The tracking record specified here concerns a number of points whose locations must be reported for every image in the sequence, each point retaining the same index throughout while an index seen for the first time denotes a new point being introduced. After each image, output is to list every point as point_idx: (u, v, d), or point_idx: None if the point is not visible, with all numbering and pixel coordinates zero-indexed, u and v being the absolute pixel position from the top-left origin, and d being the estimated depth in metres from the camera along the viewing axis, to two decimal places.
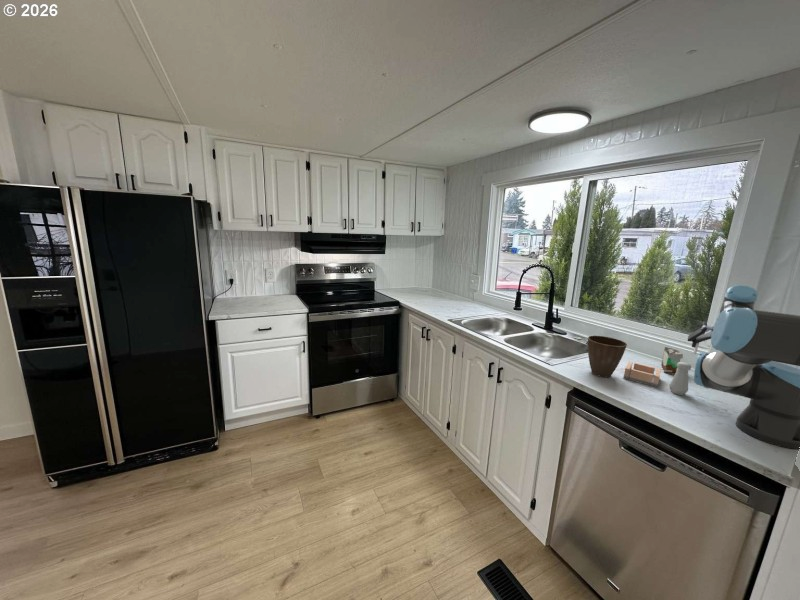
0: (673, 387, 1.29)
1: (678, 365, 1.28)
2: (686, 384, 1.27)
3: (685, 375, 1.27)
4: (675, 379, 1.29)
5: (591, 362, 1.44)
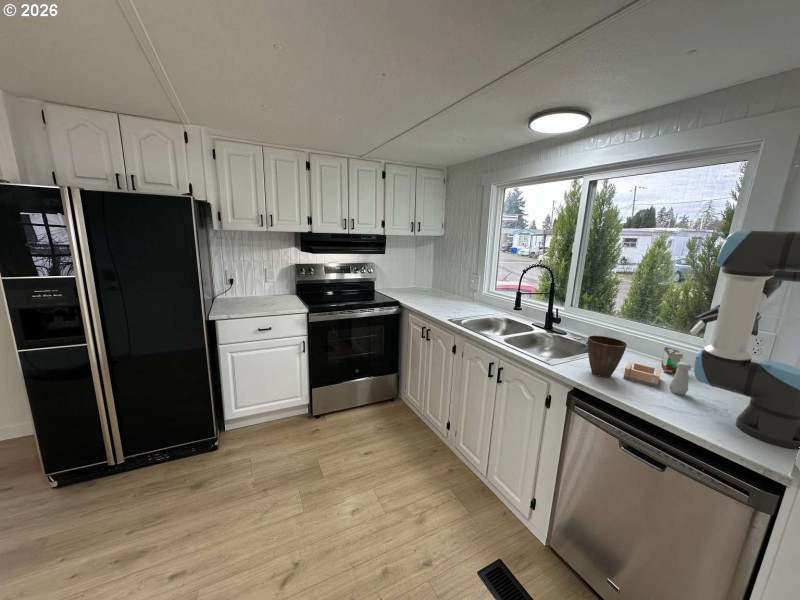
0: (673, 387, 1.29)
1: (678, 365, 1.28)
2: (686, 384, 1.27)
3: (685, 375, 1.27)
4: (675, 379, 1.29)
5: (591, 362, 1.44)
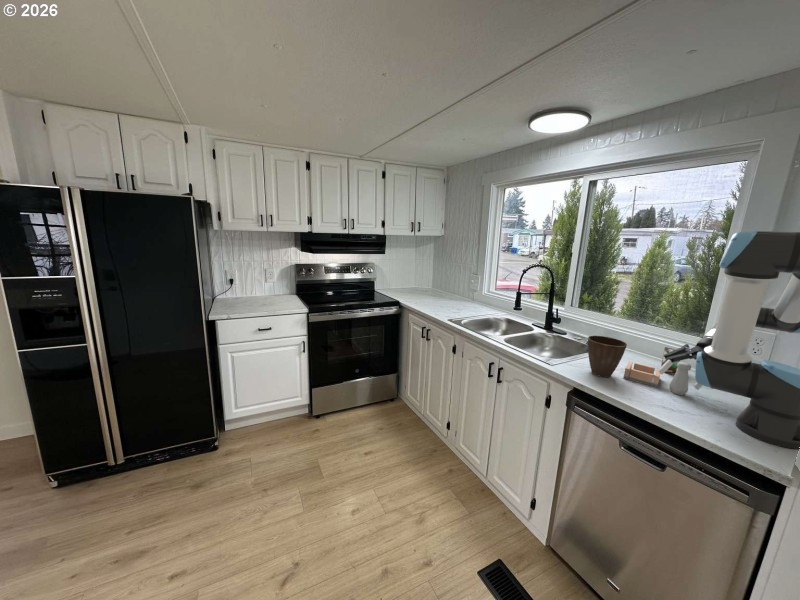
0: (673, 387, 1.29)
1: (678, 365, 1.28)
2: (686, 384, 1.27)
3: (685, 375, 1.27)
4: (675, 379, 1.29)
5: (591, 362, 1.44)
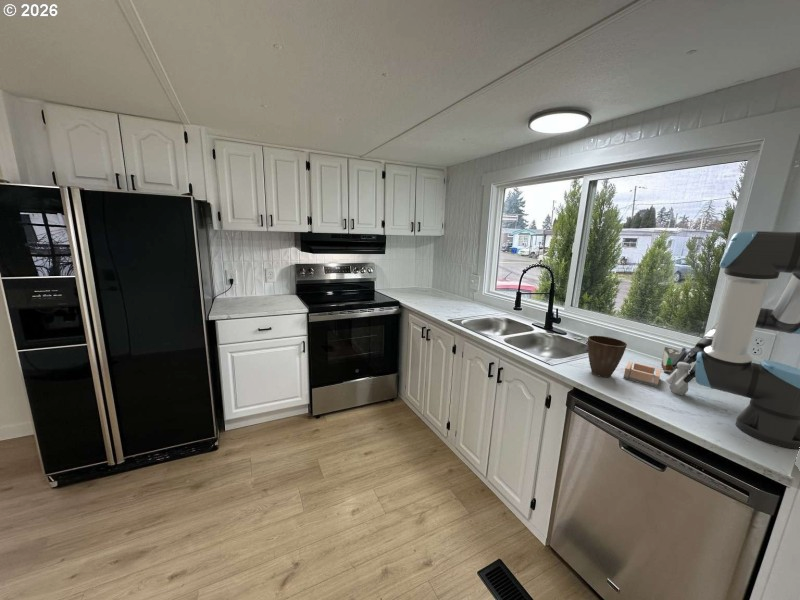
0: (673, 387, 1.29)
1: (678, 365, 1.28)
2: (686, 384, 1.27)
3: None
4: (675, 379, 1.29)
5: (591, 362, 1.44)
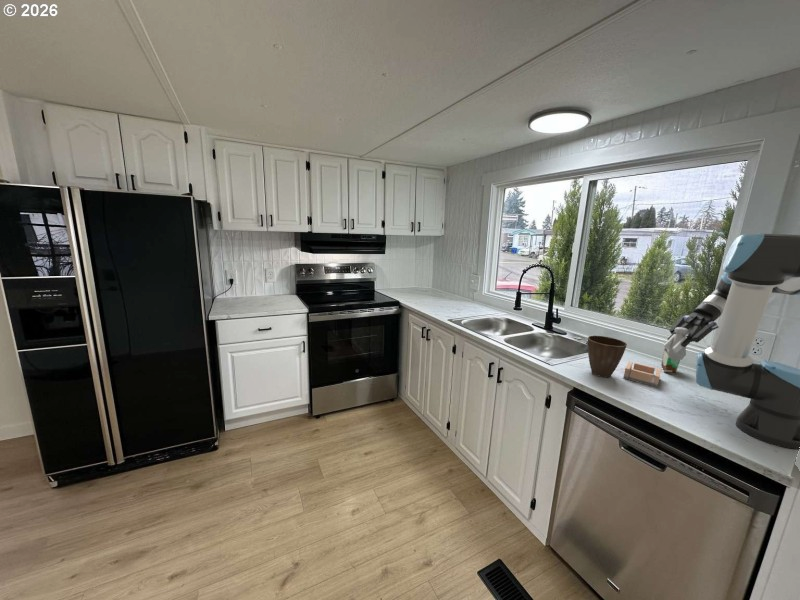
0: (671, 352, 1.31)
1: (676, 330, 1.30)
2: (684, 348, 1.29)
3: None
4: (672, 344, 1.31)
5: (591, 362, 1.44)
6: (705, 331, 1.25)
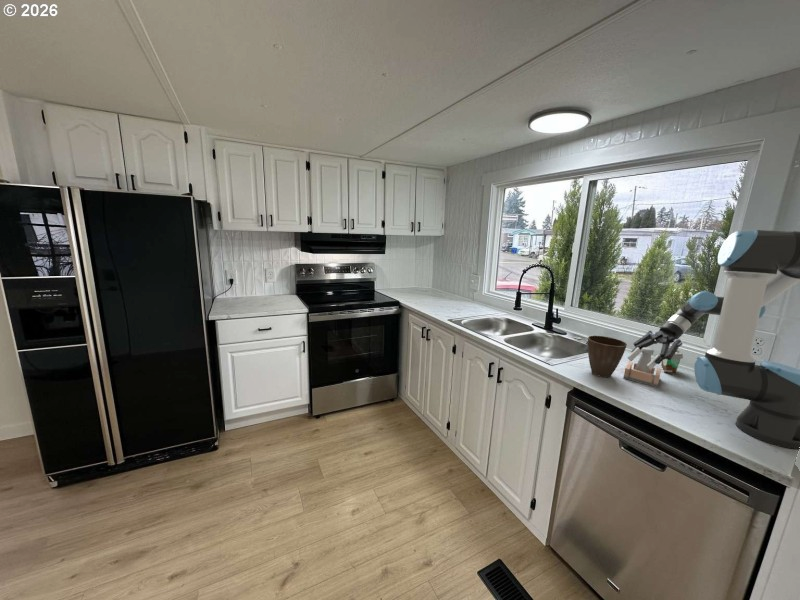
0: None
1: (642, 350, 1.41)
2: None
3: (648, 359, 1.39)
4: (639, 363, 1.41)
5: (591, 362, 1.44)
6: (674, 348, 1.34)
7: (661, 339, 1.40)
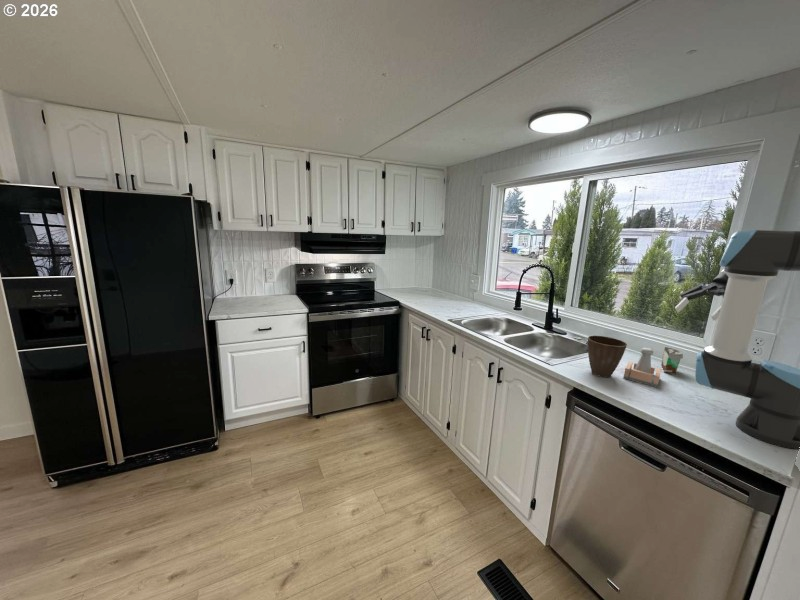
0: None
1: (642, 350, 1.40)
2: (649, 368, 1.39)
3: (648, 360, 1.39)
4: (639, 363, 1.41)
5: (591, 362, 1.44)
6: None
7: (716, 290, 1.31)
